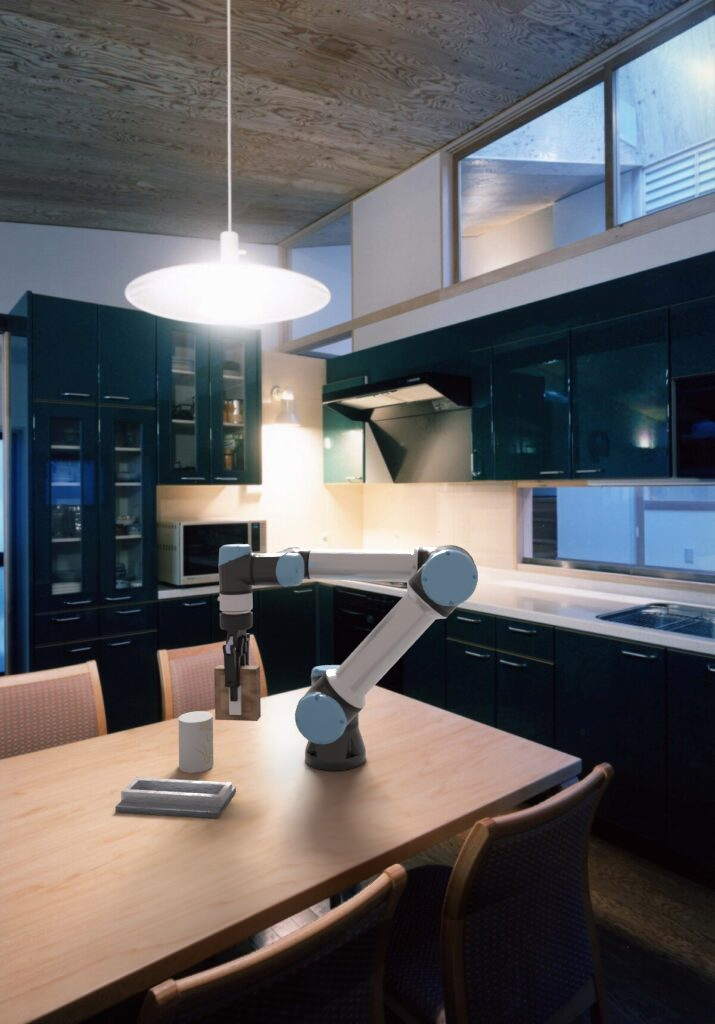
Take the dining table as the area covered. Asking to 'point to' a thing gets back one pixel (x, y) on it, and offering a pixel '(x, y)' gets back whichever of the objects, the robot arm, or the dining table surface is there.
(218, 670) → the door panel
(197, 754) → the yellow-veined white cylinder
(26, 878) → the dining table surface
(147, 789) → the track
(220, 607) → the robot arm
